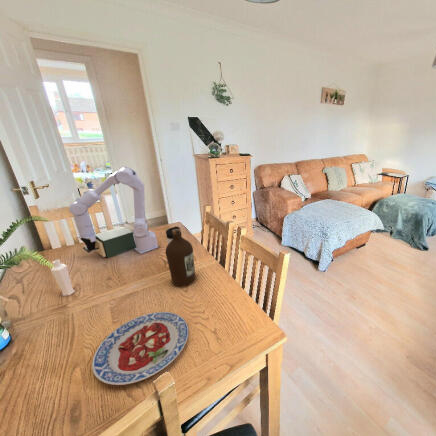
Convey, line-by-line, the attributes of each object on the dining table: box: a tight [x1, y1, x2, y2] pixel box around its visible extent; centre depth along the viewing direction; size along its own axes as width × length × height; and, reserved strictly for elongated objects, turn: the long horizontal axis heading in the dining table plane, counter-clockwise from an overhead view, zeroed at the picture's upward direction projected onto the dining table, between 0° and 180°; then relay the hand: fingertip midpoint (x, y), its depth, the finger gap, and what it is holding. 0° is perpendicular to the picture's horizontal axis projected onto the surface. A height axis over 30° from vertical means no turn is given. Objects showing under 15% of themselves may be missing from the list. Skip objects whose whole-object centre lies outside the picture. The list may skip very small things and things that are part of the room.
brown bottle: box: [165, 228, 196, 288], centre depth 102 cm, size 11×11×25 cm
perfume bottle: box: [50, 259, 76, 297], centre depth 94 cm, size 5×4×15 cm
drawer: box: [82, 239, 106, 258], centre depth 124 cm, size 17×10×8 cm, turn 145°
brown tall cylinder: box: [165, 226, 182, 245], centre depth 113 cm, size 6×7×20 cm
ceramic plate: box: [91, 311, 189, 386], centre depth 75 cm, size 26×26×3 cm
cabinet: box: [95, 226, 137, 259], centre depth 127 cm, size 14×12×10 cm
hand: (92, 250), depth 120 cm, fingers closed, pressing on drawer
